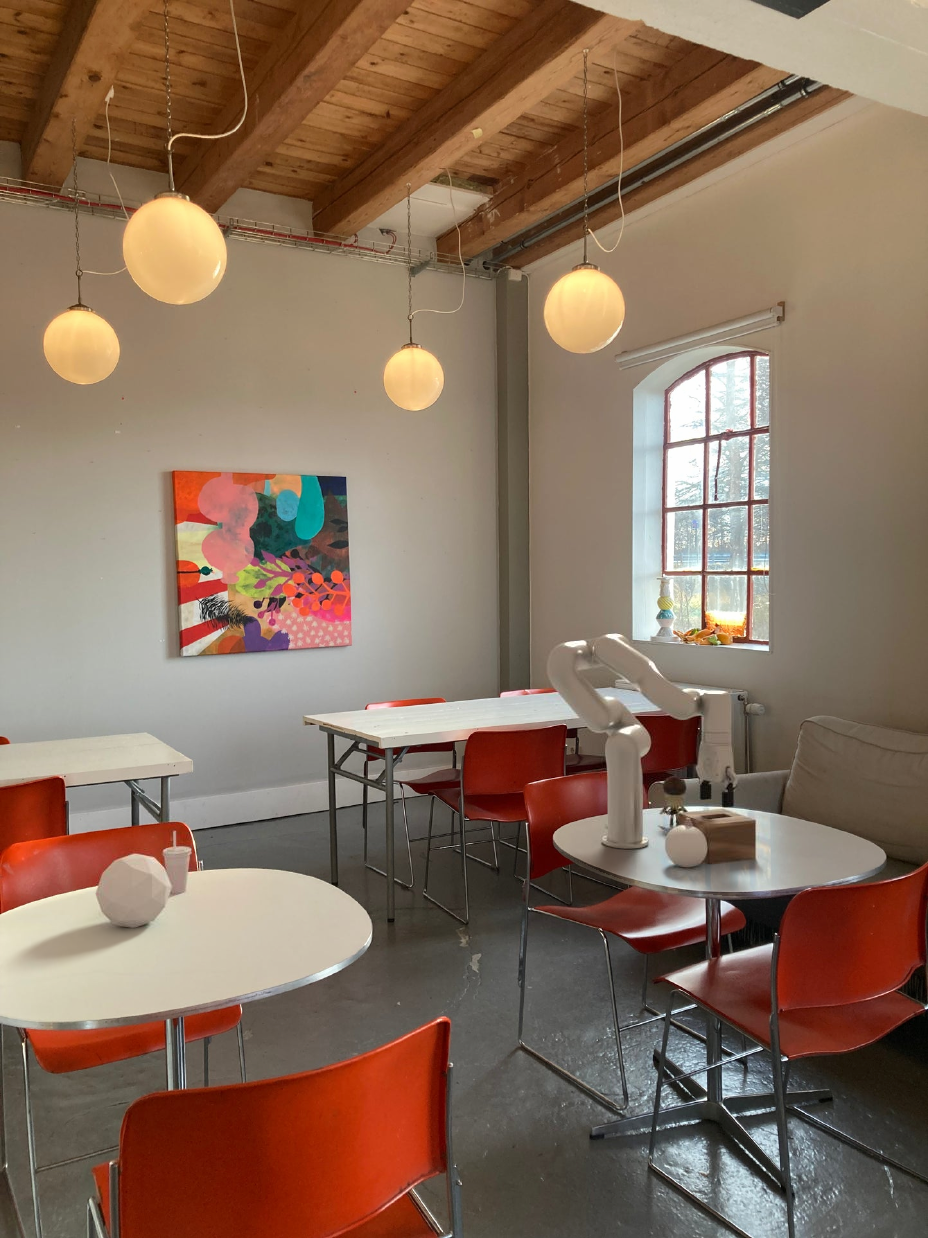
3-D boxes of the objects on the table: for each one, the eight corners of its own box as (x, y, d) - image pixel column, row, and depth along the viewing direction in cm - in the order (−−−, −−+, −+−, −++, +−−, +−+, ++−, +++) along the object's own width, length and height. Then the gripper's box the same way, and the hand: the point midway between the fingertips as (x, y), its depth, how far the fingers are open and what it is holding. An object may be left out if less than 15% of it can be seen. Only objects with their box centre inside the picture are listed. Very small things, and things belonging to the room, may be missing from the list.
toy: (689, 823, 274) (689, 773, 274) (690, 829, 267) (690, 777, 267) (659, 821, 276) (659, 772, 276) (659, 827, 269) (659, 776, 269)
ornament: (701, 860, 234) (701, 814, 234) (711, 872, 224) (711, 823, 224) (661, 860, 234) (661, 814, 234) (670, 872, 224) (669, 823, 224)
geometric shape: (146, 941, 194) (184, 876, 200) (143, 939, 180) (184, 869, 187) (85, 910, 193) (126, 845, 199) (77, 906, 179) (121, 837, 186)
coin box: (678, 850, 244) (678, 812, 244) (723, 845, 249) (723, 808, 249) (709, 864, 231) (709, 824, 231) (755, 858, 236) (755, 820, 235)
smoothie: (170, 886, 215) (169, 827, 215) (196, 887, 214) (195, 828, 214) (158, 895, 208) (157, 834, 208) (185, 896, 208) (184, 835, 208)
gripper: (685, 734, 246) (685, 797, 247) (724, 743, 230) (724, 811, 230) (709, 733, 249) (709, 795, 249) (749, 741, 233) (749, 808, 233)
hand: (716, 803), depth 240 cm, fingers open, 9 cm apart
